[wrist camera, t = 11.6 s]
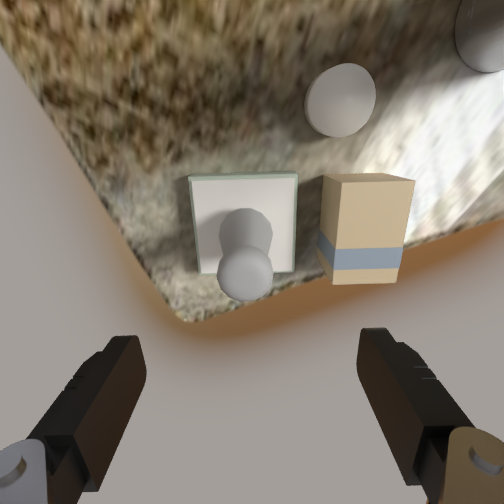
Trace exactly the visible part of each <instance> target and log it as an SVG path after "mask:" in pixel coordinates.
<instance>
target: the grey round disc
mask: <svg viewBox="0 0 504 504" xmlns="http://www.w3.org/2000/svg"><path fill="white" fill-rule="evenodd" d="M375 100H376V89H375V84H374V81H373V79H372V77H371V75H370V74H369V73H368V72H367V71H366V70H365V69H364V68H363V67H361V66H359V65H357V64H353V63H344V64H339V65H337V66H334V67H332V68H330V69H328V70H325V71H324V72H322V73H320V74H319V75H318V76H317V77H316V78H315V79H314V80H313V81H312V83H311V84H310V86H309V88H308V90H307V93H306V96H305V101H304V111H305V116H306V119H307V121H308V123H309V124H310V126H311V127H312V128H313V129H314V130H315V131H317V132H319V133H321V134H324V135H327V136H331V137H337V138H339V137H346V136H349V135H351V134H353V133H355V132H357V131H358V130H359V129H361V128H362V127H363V126H364V125H365V123H366V122H367V121H368V119H369V118H370V116H371V114H372V111H373V109H374V105H375Z"/></svg>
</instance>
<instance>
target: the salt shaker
mask: <svg viewBox="0 0 504 504" xmlns="http://www.w3.org/2000/svg"><path fill="white" fill-rule="evenodd" d="M272 236H273V232H272V227H271V223H270V222H269V221H268V219H267V218H266V217H265V216H264V215H263V214H262V213H261V212H259V211H256V210H254V209H252V208H239V209H237V210H235V211H233V212H231V213H229V214H228V215H227V216H226V218H225V219H224V220H223V222H222V223H221V225H220V231H219V240H220V244H221V248H222V252H223V257H222V258H221V259H220V261H219V265H218V270H217V280H218V282H219V285H220V288H221V290H222V291H223V292H224V293H225V294H226V295H227V296H228V297H229V298H232V299H235V300H238V301H254V300H256V299H258V298H260V297H262V296H263V295H264V294H265V293H266V292H267V291H268V290H269V289H270V287H271V283H272V279H273V274H274V272H273V268H272V264H271V260H270V258H269V257H268V253H269V249H270V245H271V241H272Z"/></svg>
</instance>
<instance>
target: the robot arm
mask: <svg viewBox="0 0 504 504" xmlns="http://www.w3.org/2000/svg"><path fill="white" fill-rule="evenodd" d="M455 42H456V46H457V50H458V53H459V55H460V56H461V58H462V60H463V61H464V62H465V63H466V64H467V65H468V66H469V67H471V68H473V69H474V70H476V71H481V72H496V71H500V70H503V69H504V0H462V3H461V5H460V7H459V11H458V14H457V18H456V24H455ZM356 364H357V373H358V377H359V380H360V382H361V384H362V386H363V389H364V391H365V393H366V395H367V398H368V400H369V402H370V404H371V407H372V409H373V411H374V413H375V416H376V418H377V420H378V422H379V425H380V427H381V429H382V431H383V433H384V436H385V438H386V440H387V443H388V445H389V447H390V449H391V452H392V454H393V456H394V458H395V460H396V463H397V465H398V467H399V470H400V471H401V474H402V476H403V479H404V481H405V483H406V485H407V486H411V485H422V487H423V489H424V491H425V493H426V495H427V502H426V504H504V442H502V441H501V440H499V439H498V438H496V437H495V436H493V435H491V434H489V433H487V432H485V431H483V430H480V429H477V428H476V427H475V426H474V425H473V424H472V423H471V421H470V420H469V419H468V417H467V416H466V415H465V413H464V412H463V411H462V410H461V408H460V407H459V406H458V404H457V403H456V402H455V401H454V399H453V398H452V397H451V396H450V394H449V393H448V392H447V390H446V389H445V388H444V386H443V385H442V384H441V382H440V381H439V380H437V379H436V376H435V375H434V373H433V372H432V371H431V369H428V366H427V364H426V363H425V362H424V360H423V359H422V358H421V357H420V355H419V354H418V353H417V352H416V351H414V350H413V349H412V348H410V347H409V346H408V345H406V344H405V343H404V342H396V341H395V340H394V338H393V337H392V335H391V334H390V333H389V331H388V330H387V329H386V328H363V329H362V330H361V333H360V339H359V347H358V355H357V363H356ZM145 381H146V365H145V361H144V357H143V353H142V349H141V345H140V341H139V338H138V336H136V335H133V336H131V335H130V336H115V337H113V338H112V339H111V340H110V342H109V343H108V344H107V346H106V347H105V348H104V350H103V351H101V352H96V353H95V354H94V355H93V356H91V357H90V358H89V359H88V360H86V361H85V362H84V363H83V364H82V365H81V366H80V368H79V369H78V370H77V372H76V373H75V375H74V376H73V379H71V380H70V381H69V382H68V384H67V385H66V386H65V389H64V391H62V392H61V393H60V395H59V396H58V397H57V398H56V400H55V401H54V403H53V404H52V405H51V406H50V408H49V409H48V410H47V412H46V413H45V414H44V416H43V417H42V418H41V420H40V421H39V422H38V424H37V425H36V427H35V428H34V429H33V430H32V432H31V433H30V435H29V436H28V437H27V438H26V439H25V440H22V441H19V442H16V443H14V444H11V445H9V446H8V447H6V448H4V449H3V450H1V451H0V504H77V502H78V500H79V498H80V496H81V494H82V492H98V491H99V489H100V486H101V484H102V482H103V479H104V477H105V475H106V472H107V470H108V468H109V466H110V463H111V461H112V459H113V456H114V454H115V452H116V449H117V447H118V445H119V443H120V440H121V438H122V436H123V433H124V431H125V428H126V426H127V424H128V422H129V419H130V417H131V415H132V412H133V410H134V408H135V406H136V403H137V401H138V399H139V396H140V394H141V392H142V390H143V387H144V384H145Z"/></svg>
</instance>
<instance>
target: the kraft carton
mask: <svg viewBox="0 0 504 504" xmlns="http://www.w3.org/2000/svg"><path fill="white" fill-rule="evenodd" d="M414 186H415V180H410V179H406V178H402V177H398V176H393V175H389V174H385V173H359V174H324V175H323V187H322V201H321V216H320V229H319V238H318V261H319V263H320V264H321V266H322V268H323V269H324V271H325V273H326V275H327V276H328V278H329V280H330V281H331V283H332V284H334V285H337V284H369V283H396V279H397V274H398V268H399V267H400V262H401V257H402V252H403V243H404V237H405V232H406V227H407V222H408V217H409V212H410V206H411V201H412V196H413V191H414Z"/></svg>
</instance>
